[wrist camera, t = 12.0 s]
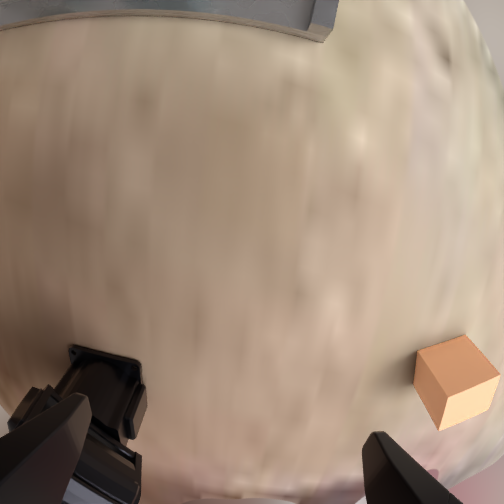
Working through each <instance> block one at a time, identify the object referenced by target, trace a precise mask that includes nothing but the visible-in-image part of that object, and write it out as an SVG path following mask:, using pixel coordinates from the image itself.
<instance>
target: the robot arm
mask: <svg viewBox="0 0 504 504" xmlns="http://www.w3.org/2000/svg"><path fill="white" fill-rule="evenodd" d="M69 355H70V360H71V366H70V367H69V368H68V370H67V371H66V373H65V374H64V375H63V377H62V378H61V380H60V381H59V383H58V384H57V386H56V387H55V388H54V389H53V388H52V387H51V386H50V385H49V384H48V385H47V386H46V387H45V388H44V389H43V390H42V389H38V388H35V387H32V388H31V389H30V390H29V392H28V393H27V394H26V396H25V397H24V398H23V400H22V401H21V403H20V404H19V405H18V407H17V408H16V410H15V411H14V413H13V414H12V416H11V418H10V419H9V421H8V422H7V424H8V429H9V433H8V434H6V435H4V436H3V437H1V438H0V504H138V503H139V500H140V496H141V467H142V456H141V455H140V454H138V453H137V452H133V451H132V450H130V449H129V448H127V447H126V445H127V442H128V439H131V440H134V439H135V438H136V437H137V434H138V431H139V428H140V425H141V422H142V420H143V417H144V414H145V411H146V408H147V395H146V386H145V385H144V384H143V382H142V366H141V364H140V363H139V362H138V361H135V360H131V359H126V358H122V357H118V356H114V355H110V354H106V353H102V352H98V351H94V350H90V349H87V348H83V347H79V346H76V345H72V346H71V347H70V348H69ZM134 366H135V367H137V368H135V367H134ZM362 461H363V474H364V488H365V495H366V500H367V504H463V503H462V502H461V501H460V500H458V499H457V498H456V497H455V496H454V495H453V494H451V493H449V491H448V490H447V489H446V488H445V487H444V486H443V485H441V484H440V483H439V482H438V481H437V480H436V479H435V478H434V477H432V475H430V474H429V473H428V472H427V471H426V470H425V469H424V468H423V467H422V466H421V465H420V464H419V463H417V462H416V461H415V460H414V459H413V458H412V457H411V456H410V455H409V454H408V453H407V452H406V451H405V450H404V449H402V448H401V447H400V446H399V445H398V444H397V443H396V442H395V441H394V440H393V439H392V438H391V437H390V436H389V435H388V434H387V433H385V432H384V431H375V432H372V433H371V434H370V436H369V437H368V439H367V441H366V442H365V444H364V445H363V448H362Z"/></svg>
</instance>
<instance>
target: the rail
mask: <svg viewBox="0 0 504 504" xmlns="http://www.w3.org/2000/svg"><path fill="white" fill-rule="evenodd" d="M338 2H339V0H0V31H1V30H5V29H10V28H14V27H19V26H24V25H30V24H36V23H42V22H48V21H56V20H64V19H73V18H84V17H99V16H168V17H184V18H195V19H205V20H214V21H221V22H229V23H235V24H241V25H247V26H253V27H258V28H263V29H268V30H273V31H278V32H282V33H287V34H291V35H295V36H299V37H303V38H307V39H310V40H314V41H318V42H321V43H323V42H324V41H325V39H326V38H327V37H328V35H329V34H330V32H331V31H332V30H333V26H334V22H335V17H336V12H337V7H338Z"/></svg>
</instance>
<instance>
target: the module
mask: <svg viewBox="0 0 504 504" xmlns="http://www.w3.org/2000/svg"><path fill="white" fill-rule="evenodd" d="M500 375H501V374H500V373H499V372H498V371H497V370H496V368H495V367H494V366H493V365H492V364H491V363H490V361H489V360H488V359H487V358H486V357H485V356H484V355H483V353H482V352H481V351H480V350H479V349H478V348H477V347H476V346H475V344H474V343H473V342H472V341H471V340H470V339H469V338H468V337H467V336H466V335H463V336H460V337H457V338H454V339H451V340H448V341H445V342H442V343H439V344H436V345H433V346H430V347H427V348H424V349H421V350H417V358H416V367H415V375H414V382H413V385H414V387H415V389H416V391H417V393H418V394H419V396H420V398H421V400H422V402H423V403H424V405H425V407H426V409H427V411H428V413H429V414H430V416H431V418H432V420H433V422H434V424H435V426H436V428H437V430H438V431H440V430H443V429H445V428H448V427H450V426H453V425H455V424H458V423H460V422H462V421H465V420H467V419H469V418H471V417H473V416H476V415H478V414H480V413H482V412H484V411H486V410H488V409H489V406H490V404H491V401H492V398H493V396H494V393H495V390H496V387H497V384H498V381H499V378H500Z"/></svg>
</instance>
